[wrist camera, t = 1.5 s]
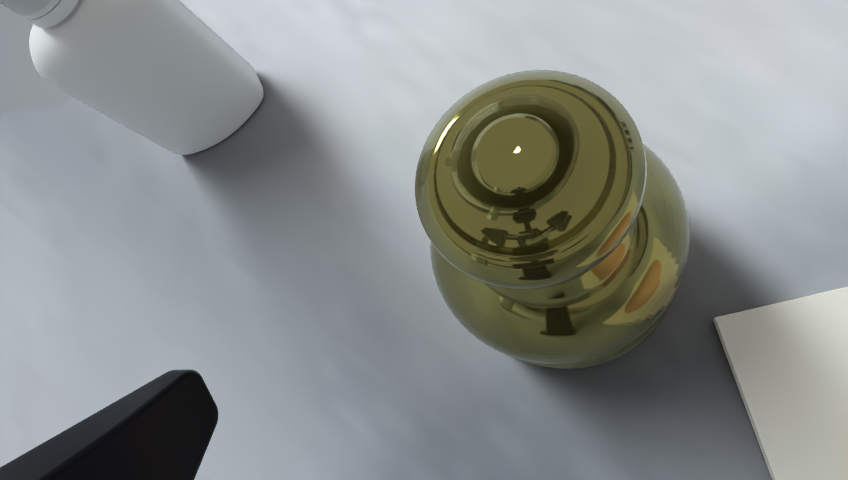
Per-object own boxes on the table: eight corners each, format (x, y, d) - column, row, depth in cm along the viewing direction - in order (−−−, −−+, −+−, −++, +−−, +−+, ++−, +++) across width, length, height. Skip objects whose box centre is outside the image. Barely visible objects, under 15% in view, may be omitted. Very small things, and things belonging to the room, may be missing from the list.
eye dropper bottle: (179, 83, 29) (-87, -107, 18) (271, 65, 27) (37, -159, 16) (167, 161, 28) (-126, 6, 17) (262, 146, 26) (3, -36, 15)
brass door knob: (427, 266, 22) (284, 169, 13) (566, 132, 21) (521, -68, 12) (562, 418, 19) (501, 431, 10) (729, 264, 18) (828, 128, 9)
